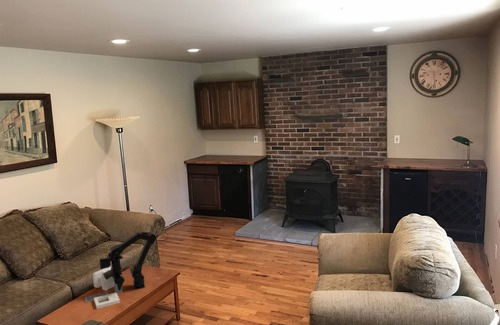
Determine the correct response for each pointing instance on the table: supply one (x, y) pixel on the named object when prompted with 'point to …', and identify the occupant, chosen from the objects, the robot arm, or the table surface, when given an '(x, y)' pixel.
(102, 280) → the cable organizer
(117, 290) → the charger
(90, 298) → the phone
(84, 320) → the table surface
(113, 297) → the outlet plate
